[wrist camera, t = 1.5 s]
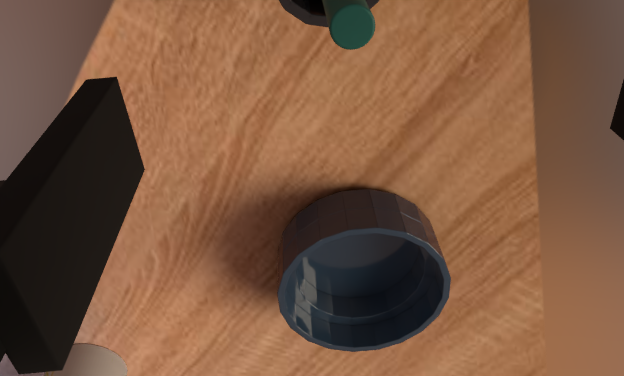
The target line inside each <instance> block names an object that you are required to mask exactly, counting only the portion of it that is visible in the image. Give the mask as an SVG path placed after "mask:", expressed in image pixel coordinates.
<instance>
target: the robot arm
mask: <svg viewBox="0 0 624 376" xmlns="http://www.w3.org/2000/svg"><path fill="white" fill-rule="evenodd" d="M610 129H612V130H613V131H614V132H615V133H616V134H617V135H618V136H619V137H621V138H622V139H623V140H624V80H623V84H622V88H621V91H620V94H619V98H618V102H617V105H616V109H615V112H614V116H613V119H612V123H611V127H610ZM144 170H145V169H144V166H143V162H142V159H141V156H140V152H139V149H138V146H137V142H136V139H135V136H134V132H133V129H132V126H131V123H130V119H129V116H128V113H127V109H126V106H125V103H124V99H123V96H122V93H121V89H120V86H119V83H118V80H117V77H110V78H99V79H88V80H86V81H85V82H84V83H83V84H82V86H81V87H80V88H79V89H78V91H77V92H76V93H75V94H74V96H73V97H72V98H71V99H70V101H69V102H68V103H67V105H66V106H65V107H64V108H63V110H62V111H61V112H60V113H59V115H58V116H57V117H56V118H55V120H54V121H53V122H52V123H51V125H50V126H49V127H48V128H47V130H46V131H45V132H44V133H43V135H42V136H41V137H40V138H39V140H38V141H37V142H36V143H35V145H34V146H33V147H32V148H31V150H30V151H29V152H28V153H27V155H26V156H25V157H24V158H23V160H22V161H21V162H20V163H19V165H18V166H17V167H16V168H15V170H14V171H13V172H12V173H11V175H10V176H9V177H8V178H7V180H5V181H4V180H3V181H0V362H1V360H2V358H3V356H4V354H5V353H6V354H7V356H8V358H9V359H10V361H11V362H12V364H13V366H14V367H15V369H16V370H17V372H18V373H19V374H28V373H39V372H51V371H62V370H63V368H64V365H65V363H66V361H67V358H68V356H69V353H70V351H71V348H72V346H73V343H74V341H75V339H76V336H77V334H78V331H79V329H80V326H81V324H82V321H83V319H84V317H85V314H86V312H87V309H88V307H89V304H90V302H91V299H92V297H93V295H94V292H95V290H96V287H97V285H98V282H99V280H100V277H101V275H102V273H103V270H104V268H105V265H106V263H107V260H108V258H109V255H110V253H111V251H112V248H113V246H114V243H115V241H116V238H117V236H118V233H119V231H120V229H121V226H122V224H123V221H124V219H125V216H126V214H127V211H128V209H129V207H130V204H131V202H132V199H133V197H134V194H135V192H136V189H137V187H138V185H139V182H140V180H141V177H142V175H143V172H144Z"/></svg>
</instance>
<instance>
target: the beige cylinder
mask: <svg viewBox="0 0 624 376" xmlns="http://www.w3.org/2000/svg"><path fill="white" fill-rule="evenodd" d="M44 376H127V366H126V364H125V362H124V360H123V359H122V358H121V357H120V356H119V355H117V354H116V353H115V352H113V351H111V350H109V349H107V348H104V347H101V346H97V345H92V344H74V345H73V346H72V348H71V351H70V353H69V356H68V358H67V361H66V363H65V365H64V368H63V370H62V371H51V372H45V375H44Z"/></svg>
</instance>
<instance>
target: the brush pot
mask: <svg viewBox="0 0 624 376" xmlns="http://www.w3.org/2000/svg"><path fill="white" fill-rule="evenodd" d="M279 1H280V3H281V5H282V6H283V8H285V10H286V11H288V12H289V13H291V14H292V15H293V16H295V17H296V18H298V19H299V20H301V21H302V22H304V23H305V24H309V25H316V26H323V27H328V22H327V18H326V14H325V10H324V6H323V1H322V0H279ZM365 1H366V3H367V5H368V7H369V9H371V8H372V7H373V6H374V5H375V4H377V3H378V2H379V0H365Z"/></svg>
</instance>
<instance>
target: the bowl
mask: <svg viewBox="0 0 624 376" xmlns="http://www.w3.org/2000/svg"><path fill="white" fill-rule="evenodd" d="M450 282H451V277H450V274H449V271H448V268H447V265H446V262H445V260H444V257H443V254H442V252H441V249H440V246H439V244H438V241H437V239H436V236H435V233H434V231H433V228H432V226H431V223H430V221H429V219H428V218H427V217H426V216H425V215H424V214H423V212H422V211H421V210H420V209H419V208H418V207H417V206H416V205H415V204H413V203H411V202H410V201H408V200H406V199H404V198H402V197H400V196H398V195H396V194H393V193H388V192H383V191H377V190H372V189H362V190H350V191H341V192H338V193H335V194H332V195H330V196H327V197H324V198H321V199H318V200H317V201H315V202H314V203H312V204H311V205H309V206H308V207H306V208H305V209H304V210H302V211H301V212H299V213H298V214H297V215H296V216H295V217H294V218H293V220H292V221H291V222H290V224H289V225H288V226H287V228H286V229H285V231H284V232H283V234H282V238H281V242H280V245H279V249H278V281H277V294H278V301H279V307H280V312H281V314H282V315H283V317H284V318H285V320H286V322H287V323H288V325H289V326H290V328H291V329H293V330H294V331H295V332H297V333H298V334H299V335H301V336H302V337H303V338H305V339H306V340H307V341H309V342H312V343H315V344H317V345H320V346H323V347H325V348H328V349H334V350H343V351H351V352H356V351H368V350H377V349H382V348H385V347H389V346H392V345H395V344H399V343H401V342H404V341H405V340H407V339H409V338H411V337H413V336H415V335H416V334H418V333H420V332H422V331H423V330H424V329H425V328H426V327H427V326H428V325H429V324H431V323H432V322H433V321H434V320H435V319H436V318H437V317H438V316H439V315H440V313H441V311H442V309H443V307H444V305H445V304H446V302H447V300H448V298H449V291H450Z"/></svg>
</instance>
